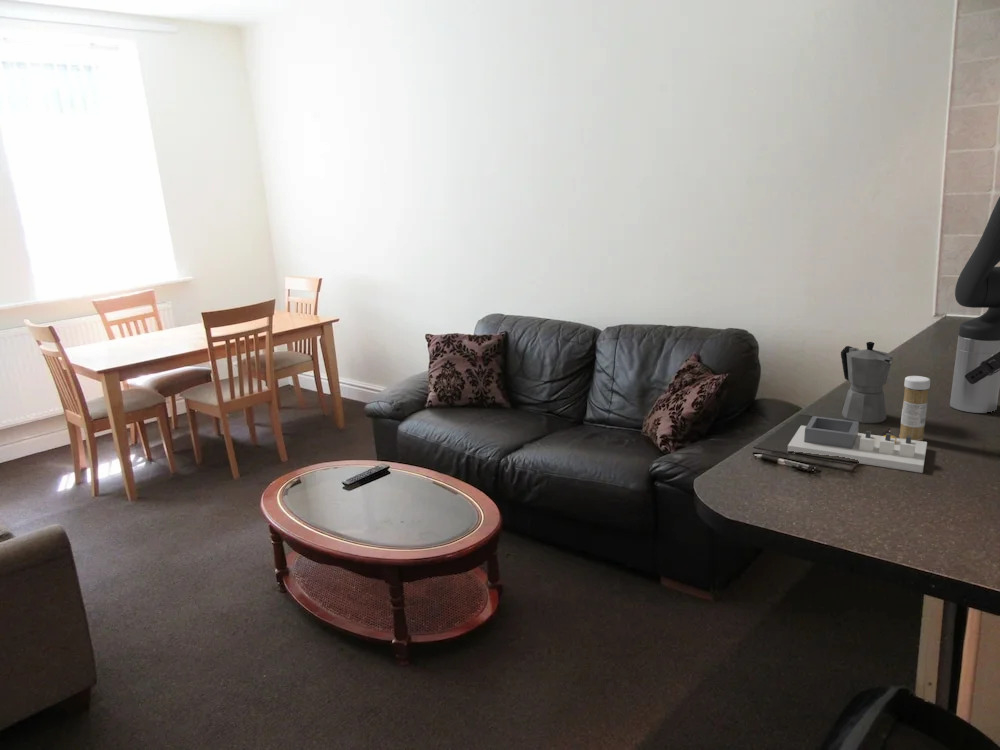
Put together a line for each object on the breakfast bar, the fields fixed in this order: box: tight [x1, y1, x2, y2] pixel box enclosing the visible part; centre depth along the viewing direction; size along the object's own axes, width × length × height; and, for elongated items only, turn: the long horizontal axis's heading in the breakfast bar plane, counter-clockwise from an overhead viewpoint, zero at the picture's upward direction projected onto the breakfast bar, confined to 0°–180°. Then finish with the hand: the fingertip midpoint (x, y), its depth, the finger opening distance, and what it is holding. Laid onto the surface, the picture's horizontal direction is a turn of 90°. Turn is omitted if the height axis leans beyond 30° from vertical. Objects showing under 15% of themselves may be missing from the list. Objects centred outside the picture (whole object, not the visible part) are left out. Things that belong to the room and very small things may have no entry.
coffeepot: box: [840, 341, 894, 424], centre depth 161 cm, size 15×9×18 cm, turn 13°
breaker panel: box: [787, 415, 928, 474], centre depth 142 cm, size 14×24×5 cm, turn 57°
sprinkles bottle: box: [898, 375, 931, 441], centre depth 146 cm, size 5×5×14 cm
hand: (977, 375), depth 136 cm, fingers open, 8 cm apart
